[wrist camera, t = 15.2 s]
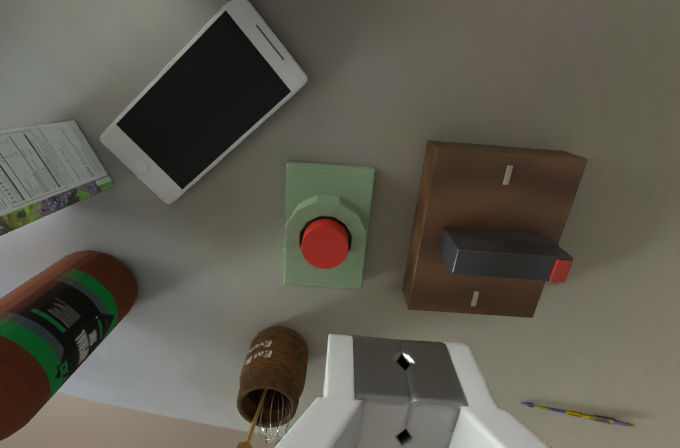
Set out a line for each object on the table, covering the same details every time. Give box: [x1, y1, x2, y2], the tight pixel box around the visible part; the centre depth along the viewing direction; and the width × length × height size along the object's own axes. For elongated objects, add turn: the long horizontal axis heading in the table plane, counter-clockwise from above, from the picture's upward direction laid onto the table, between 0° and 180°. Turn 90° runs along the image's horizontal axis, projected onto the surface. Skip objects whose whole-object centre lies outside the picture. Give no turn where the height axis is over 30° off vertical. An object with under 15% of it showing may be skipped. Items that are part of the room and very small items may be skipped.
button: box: [301, 218, 348, 269], centre depth 28 cm, size 4×4×2 cm
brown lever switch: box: [403, 140, 588, 318], centre depth 29 cm, size 14×11×3 cm
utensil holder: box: [235, 327, 308, 448], centre depth 31 cm, size 6×6×12 cm
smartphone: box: [100, 0, 308, 204], centre depth 27 cm, size 7×15×1 cm, turn 129°
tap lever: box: [438, 227, 573, 283], centre depth 26 cm, size 8×2×4 cm, turn 85°
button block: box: [284, 161, 375, 289], centre depth 29 cm, size 11×7×3 cm, turn 176°
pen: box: [521, 403, 635, 426], centre depth 39 cm, size 14×1×1 cm
